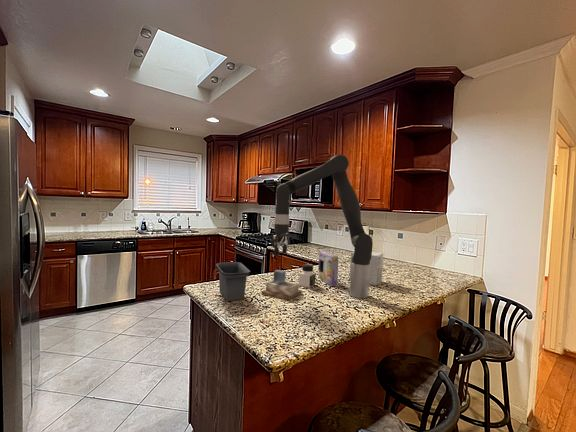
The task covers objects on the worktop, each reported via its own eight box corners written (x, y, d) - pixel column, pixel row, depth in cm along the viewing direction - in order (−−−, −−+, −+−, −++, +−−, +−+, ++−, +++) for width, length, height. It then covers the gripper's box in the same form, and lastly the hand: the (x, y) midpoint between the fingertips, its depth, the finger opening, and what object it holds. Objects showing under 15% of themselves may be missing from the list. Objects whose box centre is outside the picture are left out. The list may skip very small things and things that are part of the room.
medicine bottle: (309, 287, 165) (310, 266, 164) (298, 285, 169) (299, 264, 168) (315, 285, 171) (316, 264, 171) (304, 282, 175) (305, 262, 174)
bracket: (291, 291, 152) (292, 272, 151) (288, 293, 149) (289, 273, 148) (276, 288, 156) (277, 269, 156) (273, 289, 153) (274, 271, 153)
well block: (301, 293, 155) (302, 282, 155) (289, 300, 143) (289, 289, 142) (275, 287, 162) (276, 277, 162) (261, 294, 150) (262, 283, 150)
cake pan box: (316, 277, 187) (318, 250, 186) (324, 277, 189) (325, 250, 188) (330, 286, 169) (331, 256, 168) (337, 286, 171) (339, 256, 170)
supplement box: (382, 281, 187) (384, 253, 186) (376, 286, 176) (378, 256, 175) (355, 276, 196) (357, 249, 195) (348, 280, 185) (350, 252, 184)
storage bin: (251, 301, 139) (252, 271, 138) (218, 304, 133) (219, 273, 132) (239, 288, 158) (240, 261, 158) (209, 290, 152) (210, 263, 151)
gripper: (281, 224, 143) (280, 257, 144) (294, 222, 156) (293, 253, 157) (268, 223, 147) (267, 255, 148) (282, 221, 159) (281, 251, 160)
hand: (280, 254), depth 152 cm, fingers open, 8 cm apart
